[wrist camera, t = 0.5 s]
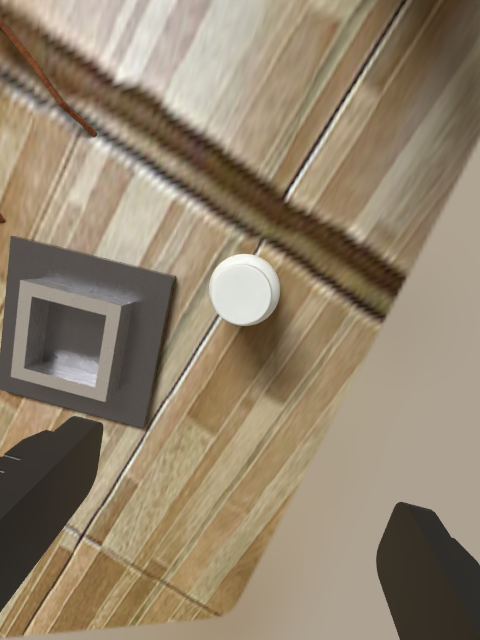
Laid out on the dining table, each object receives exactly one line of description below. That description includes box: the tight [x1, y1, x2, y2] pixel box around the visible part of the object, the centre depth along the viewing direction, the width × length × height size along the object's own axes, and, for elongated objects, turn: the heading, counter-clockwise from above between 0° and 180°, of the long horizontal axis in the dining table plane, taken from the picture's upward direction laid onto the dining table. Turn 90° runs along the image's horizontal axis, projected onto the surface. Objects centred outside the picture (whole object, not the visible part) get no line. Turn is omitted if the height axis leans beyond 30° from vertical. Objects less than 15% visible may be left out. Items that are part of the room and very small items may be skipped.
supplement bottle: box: [209, 254, 280, 326], centre depth 25 cm, size 5×5×10 cm
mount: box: [0, 236, 176, 428], centre depth 30 cm, size 16×16×4 cm
